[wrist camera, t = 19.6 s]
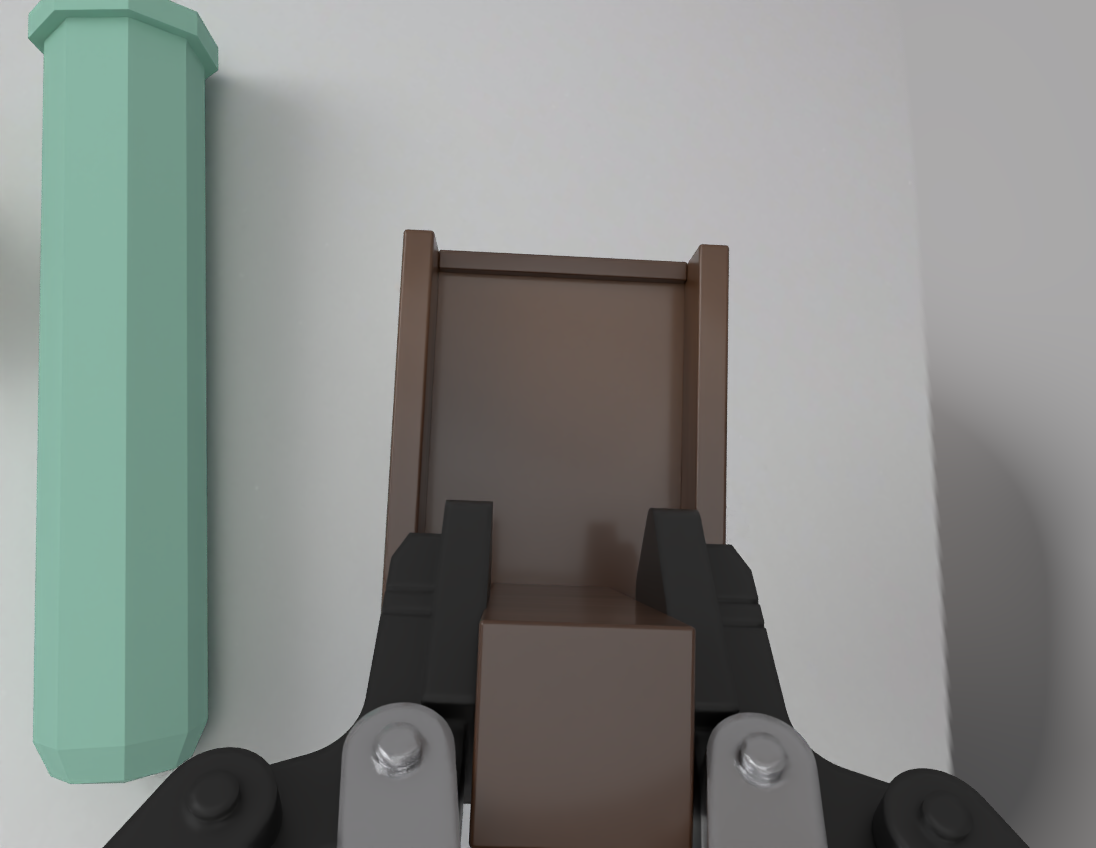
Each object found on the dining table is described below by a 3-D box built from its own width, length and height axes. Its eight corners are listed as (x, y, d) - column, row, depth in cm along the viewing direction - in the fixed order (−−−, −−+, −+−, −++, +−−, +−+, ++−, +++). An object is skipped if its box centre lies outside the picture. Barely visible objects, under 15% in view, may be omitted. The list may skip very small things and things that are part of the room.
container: (125, 819, 24) (129, -39, 27) (-34, 806, 26) (-15, 6, 29) (261, 762, 30) (253, 54, 33) (122, 754, 32) (126, 86, 35)
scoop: (414, 261, 20) (336, 26, 11) (706, 275, 20) (869, 58, 11) (388, 712, 18) (275, 876, 9) (700, 721, 19) (878, 889, 10)
